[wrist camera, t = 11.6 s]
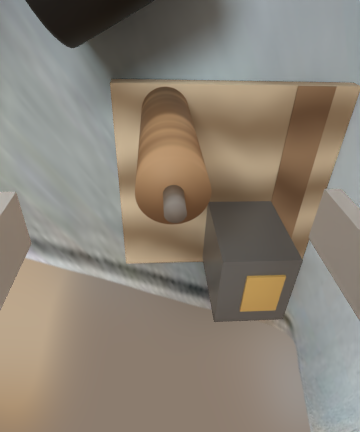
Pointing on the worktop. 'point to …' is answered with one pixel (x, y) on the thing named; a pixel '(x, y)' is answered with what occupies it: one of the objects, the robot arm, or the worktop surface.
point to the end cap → (82, 17)
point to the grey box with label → (248, 261)
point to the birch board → (237, 154)
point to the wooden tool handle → (170, 160)
